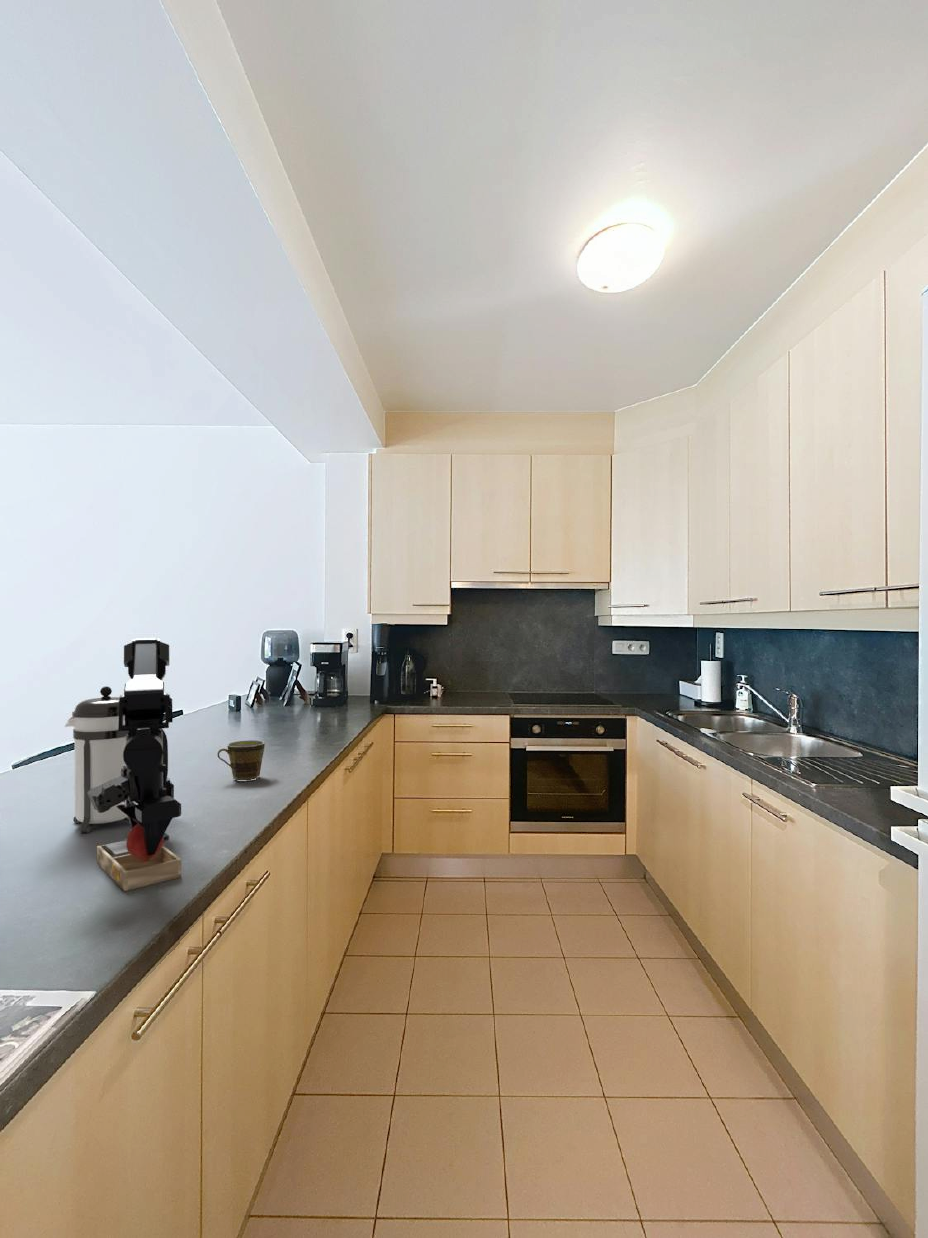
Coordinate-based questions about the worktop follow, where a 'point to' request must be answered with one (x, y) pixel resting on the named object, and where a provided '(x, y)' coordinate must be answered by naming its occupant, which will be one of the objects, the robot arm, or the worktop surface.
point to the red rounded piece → (139, 844)
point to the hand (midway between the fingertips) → (145, 850)
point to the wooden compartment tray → (137, 866)
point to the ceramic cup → (245, 758)
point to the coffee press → (99, 755)
